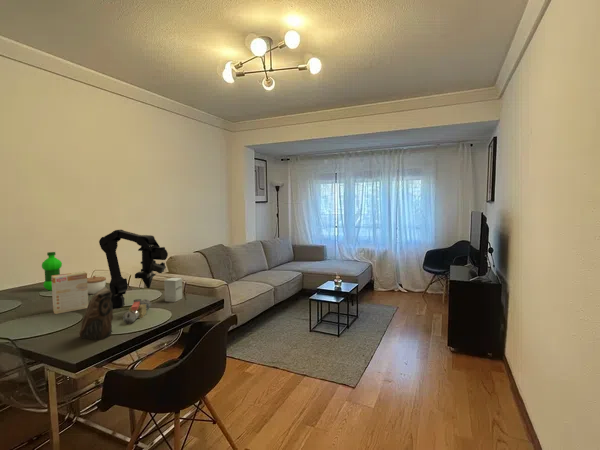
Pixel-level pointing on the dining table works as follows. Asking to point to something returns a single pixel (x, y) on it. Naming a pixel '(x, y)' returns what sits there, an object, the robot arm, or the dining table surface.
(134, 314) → the valve body
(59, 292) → the coffeecake box
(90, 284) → the lidded bowl
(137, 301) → the lever
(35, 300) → the dining table surface
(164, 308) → the dining table surface
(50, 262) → the plastic bottle
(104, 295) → the owl
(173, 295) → the supplement box
